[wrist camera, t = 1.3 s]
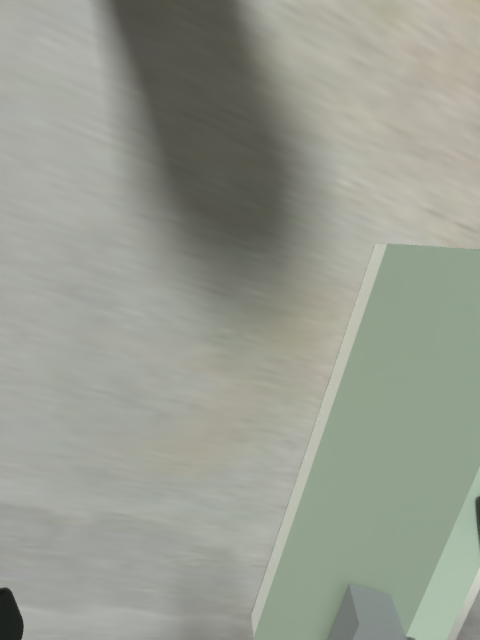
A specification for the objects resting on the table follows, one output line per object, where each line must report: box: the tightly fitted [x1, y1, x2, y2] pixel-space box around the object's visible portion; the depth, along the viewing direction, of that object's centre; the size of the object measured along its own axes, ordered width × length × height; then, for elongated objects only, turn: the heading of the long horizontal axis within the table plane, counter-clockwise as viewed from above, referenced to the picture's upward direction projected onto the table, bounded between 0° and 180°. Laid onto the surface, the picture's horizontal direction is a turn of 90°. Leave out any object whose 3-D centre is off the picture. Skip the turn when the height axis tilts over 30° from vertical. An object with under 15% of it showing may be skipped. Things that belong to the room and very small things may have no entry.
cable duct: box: [251, 244, 480, 640], centre depth 21 cm, size 10×22×3 cm, turn 165°
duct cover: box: [253, 244, 480, 640], centre depth 14 cm, size 10×22×2 cm
